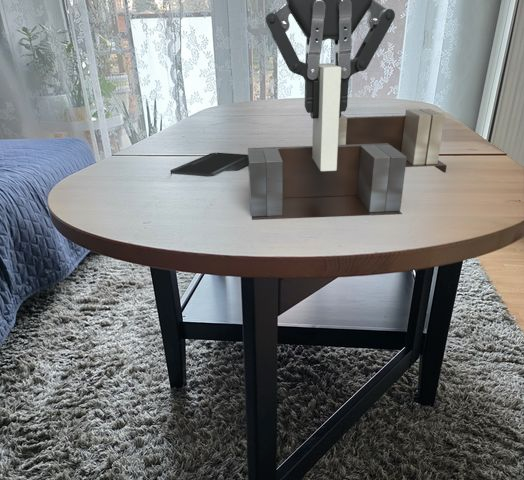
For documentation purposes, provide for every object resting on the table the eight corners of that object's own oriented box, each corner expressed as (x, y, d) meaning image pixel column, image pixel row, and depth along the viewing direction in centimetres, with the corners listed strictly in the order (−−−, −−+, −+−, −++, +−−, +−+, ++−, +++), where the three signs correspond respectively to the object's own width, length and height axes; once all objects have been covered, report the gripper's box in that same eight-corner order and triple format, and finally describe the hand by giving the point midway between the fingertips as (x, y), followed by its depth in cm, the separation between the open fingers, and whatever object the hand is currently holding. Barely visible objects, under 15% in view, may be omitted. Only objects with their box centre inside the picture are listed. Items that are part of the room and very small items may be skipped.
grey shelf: (382, 200, 66) (388, 143, 62) (401, 222, 58) (409, 158, 54) (249, 205, 65) (247, 148, 61) (251, 228, 57) (249, 164, 54)
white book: (326, 157, 62) (330, 63, 56) (336, 170, 56) (341, 66, 50) (312, 158, 62) (314, 63, 56) (320, 171, 56) (323, 67, 50)
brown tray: (426, 159, 85) (434, 107, 81) (445, 172, 78) (455, 115, 74) (320, 163, 85) (322, 111, 81) (329, 176, 77) (332, 119, 73)
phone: (253, 154, 86) (212, 174, 74) (253, 161, 87) (213, 182, 75) (212, 152, 89) (166, 171, 77) (213, 159, 89) (167, 178, 78)
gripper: (259, -94, 43) (265, 125, 53) (418, -99, 44) (396, 119, 53) (256, -78, 50) (261, 115, 59) (395, -82, 50) (379, 110, 59)
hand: (325, 116), depth 56 cm, fingers closed on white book, 2 cm apart
